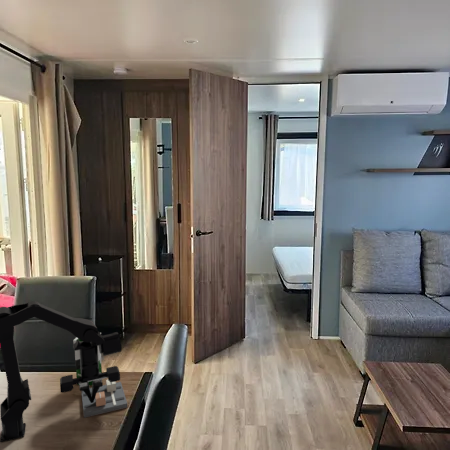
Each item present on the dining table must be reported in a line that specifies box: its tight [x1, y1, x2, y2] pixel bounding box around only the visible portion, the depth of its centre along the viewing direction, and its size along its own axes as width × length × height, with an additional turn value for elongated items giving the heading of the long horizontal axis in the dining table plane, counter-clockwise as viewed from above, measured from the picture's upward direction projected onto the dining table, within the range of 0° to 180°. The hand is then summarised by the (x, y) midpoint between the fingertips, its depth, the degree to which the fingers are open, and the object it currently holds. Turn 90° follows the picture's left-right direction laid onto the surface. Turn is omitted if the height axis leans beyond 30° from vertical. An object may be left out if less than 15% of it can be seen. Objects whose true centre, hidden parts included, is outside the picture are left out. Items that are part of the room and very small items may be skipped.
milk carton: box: [72, 332, 103, 387], centre depth 149 cm, size 9×9×20 cm
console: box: [80, 381, 128, 418], centre depth 137 cm, size 15×14×2 cm
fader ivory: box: [105, 379, 117, 392], centre depth 141 cm, size 4×3×3 cm
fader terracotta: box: [95, 391, 106, 407], centre depth 132 cm, size 4×3×3 cm
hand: (91, 402), depth 131 cm, fingers closed
